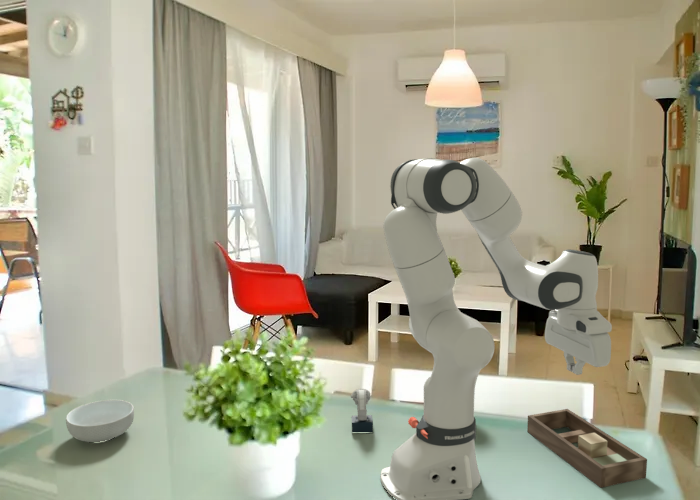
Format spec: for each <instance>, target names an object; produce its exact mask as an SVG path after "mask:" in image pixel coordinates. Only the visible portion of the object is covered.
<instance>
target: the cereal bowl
mask: <svg viewBox="0 0 700 500" xmlns="http://www.w3.org/2000/svg"><path fill="white" fill-rule="evenodd" d="M134 418H135V407H134V405H133V404H132V402H129V401H126V400H122V399H105V400H104V399H103V400H97V401H93V402H88V403H86V404H85V403H84V404H82V405H80V406H77V407H75V408H73V409H72V410H71V411H69V412H68V413H67V414H66V417H65V423H66V428H67V431H68V433H69V435H70V436H72V437H73V438H75V439H76V440H78V441H81V442H86V443H89V442H100V441H105V440H109V439H112V438H114V437H115V438H117V437H119V436H120V435H123V434H124V433H125V432H127V430H129V429H130V427H131V426H132V424H133V422H134ZM115 438H114V439H115ZM112 440H113V439H112Z"/></svg>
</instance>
